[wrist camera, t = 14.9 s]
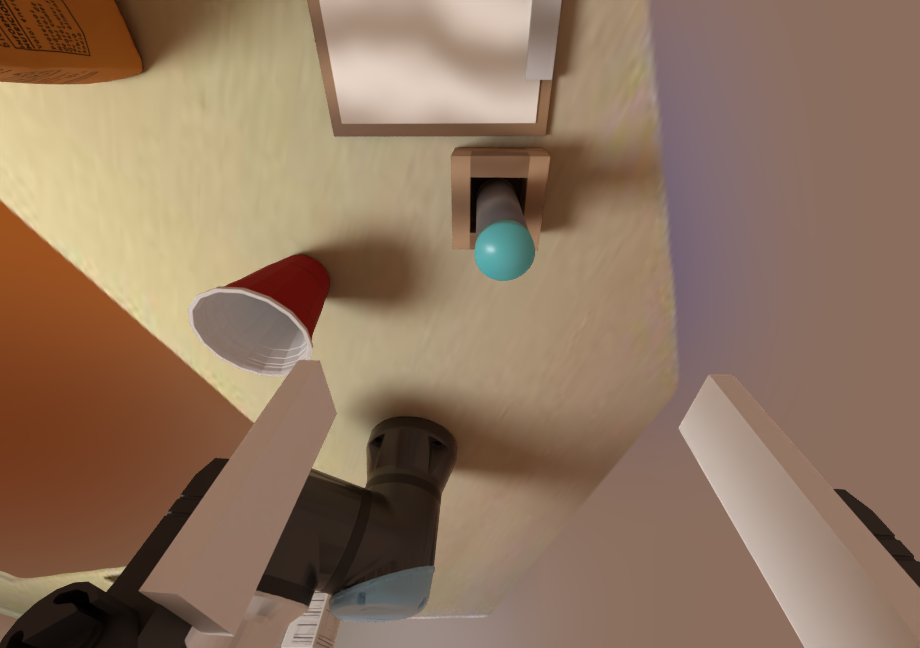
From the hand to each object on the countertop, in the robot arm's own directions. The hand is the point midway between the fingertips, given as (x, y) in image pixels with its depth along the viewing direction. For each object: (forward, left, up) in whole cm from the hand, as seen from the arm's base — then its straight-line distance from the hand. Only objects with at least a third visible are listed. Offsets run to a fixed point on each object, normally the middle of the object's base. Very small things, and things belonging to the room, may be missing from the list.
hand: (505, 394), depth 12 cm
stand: (0, 0, -26) cm, 26 cm away
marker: (0, 0, -26) cm, 26 cm away
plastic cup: (-10, +22, -26) cm, 36 cm away
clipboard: (+12, +5, -26) cm, 29 cm away
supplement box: (-105, +41, -26) cm, 116 cm away
